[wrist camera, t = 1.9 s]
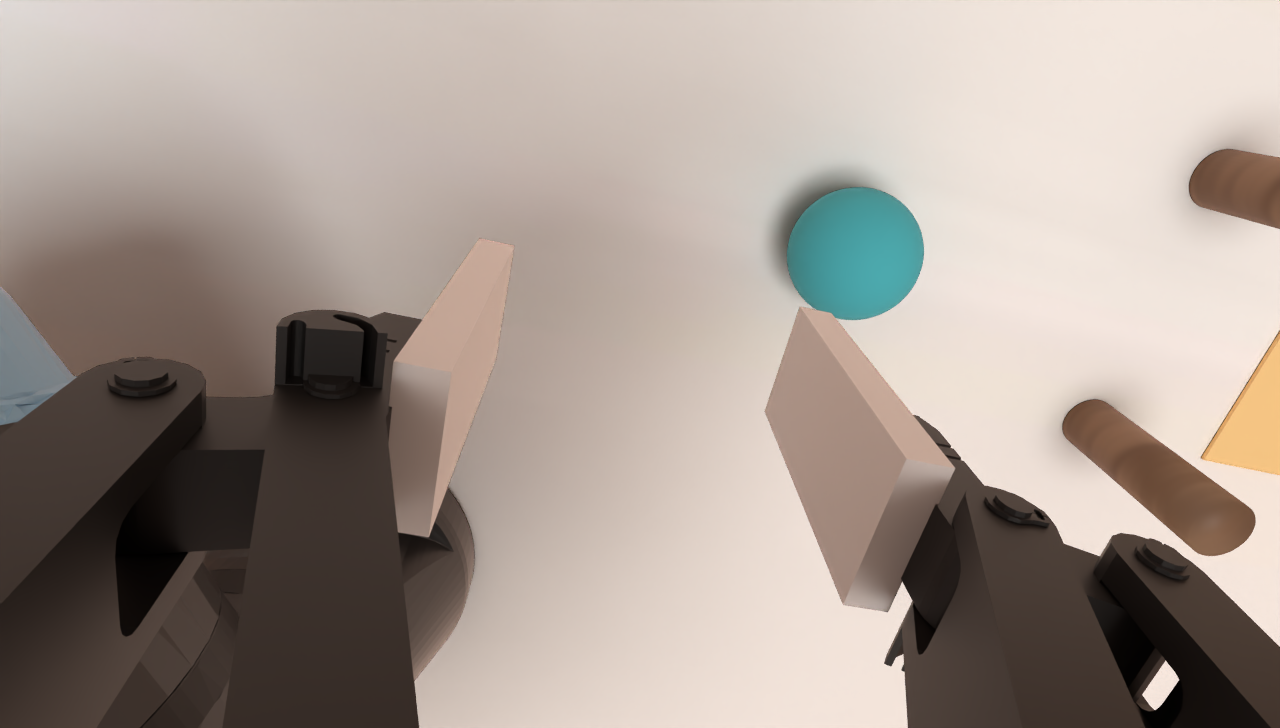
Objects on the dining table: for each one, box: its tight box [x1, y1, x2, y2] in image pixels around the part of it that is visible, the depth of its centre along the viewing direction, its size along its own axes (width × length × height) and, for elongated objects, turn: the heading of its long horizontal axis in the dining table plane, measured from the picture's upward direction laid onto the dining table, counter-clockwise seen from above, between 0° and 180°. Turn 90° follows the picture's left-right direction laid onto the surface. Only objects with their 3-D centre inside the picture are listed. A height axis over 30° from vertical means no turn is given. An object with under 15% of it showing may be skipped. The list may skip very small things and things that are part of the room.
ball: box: [787, 187, 924, 320], centre depth 30 cm, size 6×6×6 cm
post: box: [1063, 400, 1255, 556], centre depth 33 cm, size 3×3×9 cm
